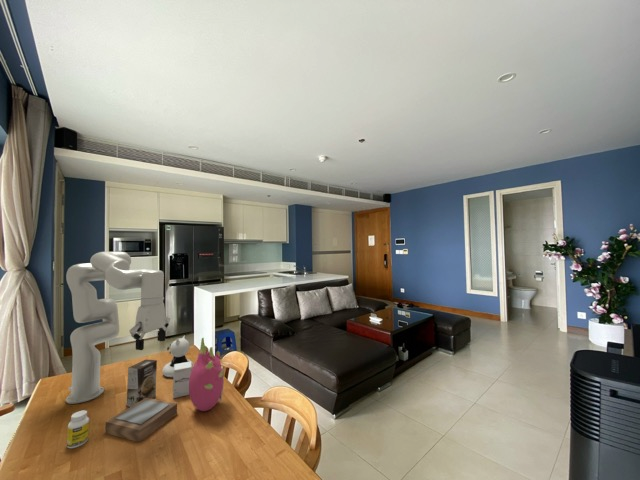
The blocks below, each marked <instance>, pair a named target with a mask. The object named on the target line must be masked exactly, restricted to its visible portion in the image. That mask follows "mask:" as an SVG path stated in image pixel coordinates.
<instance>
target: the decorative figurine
mask: <svg viewBox="0 0 640 480" xmlns="http://www.w3.org/2000/svg"><path fill="white" fill-rule="evenodd" d="M190 345H191V344H190V342H189V340H187V339H186V336H185V335H183V336H182V337H180V338H178V337H176V339H175V340H173V342H171V344H169V346H167V347H166V348H167V351H169V354H170V355H171V356H172V358H171V361H170V362H168V363H166V364H165V365H164V366H163V368H162V371H161V372H162V374H163V376H165V377H168V378H173V376H174V364H179V363H185V362H190V361H191V364H192V369H193V366H194V362H193V361H192V360H191V359H189V358H187V357H186V354H188V352H189V351H190V347H191V346H190ZM192 369H191V371H192Z"/></svg>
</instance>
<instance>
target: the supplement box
mask: <svg viewBox="0 0 640 480" xmlns="http://www.w3.org/2000/svg"><path fill="white" fill-rule="evenodd" d="M191 361H192V360H191ZM191 361H190V362H185V363H179V364H174V376H173V377H172V378H173V379H172V381H173V383H172V399H177V398H180V397H184V396H190V394H189V379H190V374H191V371H192V370H191V369H193V368H192V364H191Z"/></svg>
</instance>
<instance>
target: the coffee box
mask: <svg viewBox="0 0 640 480" xmlns="http://www.w3.org/2000/svg"><path fill="white" fill-rule="evenodd" d="M157 362H158V360H156V359H144V360H142V361H139V362H137V363H134V364H132V365H131V366H128V367H127V369H128V370H127V389H126V404H125V405H126V407H129V408H130V407H131V406H133V405H135V404H136V403H138V402H140V401H141V400H143V399H145V398H146V397H147V398H152V399H155V397H156V395H157V369H158V368H157V367H158V366H157V364H158V363H157Z"/></svg>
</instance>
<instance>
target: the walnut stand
mask: <svg viewBox="0 0 640 480" xmlns="http://www.w3.org/2000/svg"><path fill="white" fill-rule="evenodd" d="M177 414H178V403H176V402H171V401H166V400H161V399H156V398H147V397H146V398H145V399H143V400H141V401H140V402H138V403H136V404H135V405H133V406H131V407H130V406H129V407H128V408H126V409H124V410H123V411H121V412H120V413H118V414H116V415H114V416H113V417H111V418H109V419H107V420H106V421H105V431H104V432H105V434H108V435H111V436H114V437H115V436H116V437H118V438H122V439H125V440H130V441H134V442H137V443H141V442H142V441H143V440H144V439H146V438H147V437H148V436H149V435H151V434H153V432H155V431H156V430H157V429H159V428H160V427H162V426H163V425H164V424H165V423H167V422H168V421H169V420H171V419H172V418H174V417H175V416H177Z"/></svg>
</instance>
